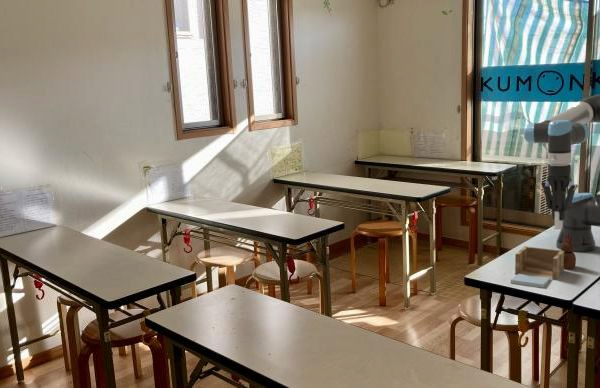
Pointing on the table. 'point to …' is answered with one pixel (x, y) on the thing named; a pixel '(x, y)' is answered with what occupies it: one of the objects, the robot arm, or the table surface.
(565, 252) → the wooden figurine
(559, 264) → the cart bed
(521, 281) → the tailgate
